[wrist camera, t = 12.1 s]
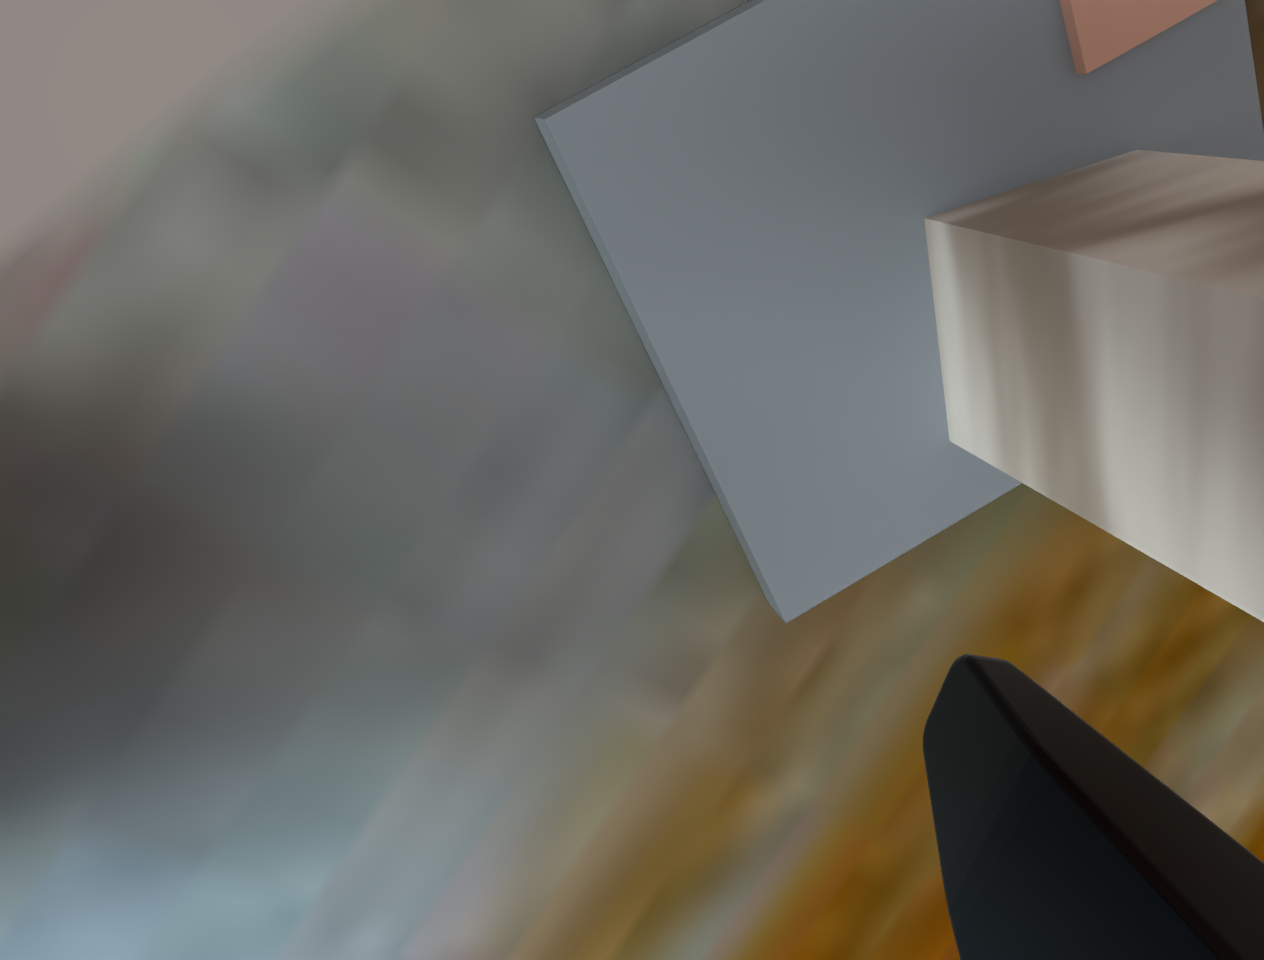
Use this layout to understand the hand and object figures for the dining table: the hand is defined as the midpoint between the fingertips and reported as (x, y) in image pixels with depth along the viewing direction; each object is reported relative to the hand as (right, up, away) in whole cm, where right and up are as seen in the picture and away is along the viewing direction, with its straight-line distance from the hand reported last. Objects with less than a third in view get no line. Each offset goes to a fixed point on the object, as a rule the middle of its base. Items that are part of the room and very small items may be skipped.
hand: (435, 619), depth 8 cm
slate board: (+8, +7, +13) cm, 17 cm away
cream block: (+10, +5, +13) cm, 18 cm away
